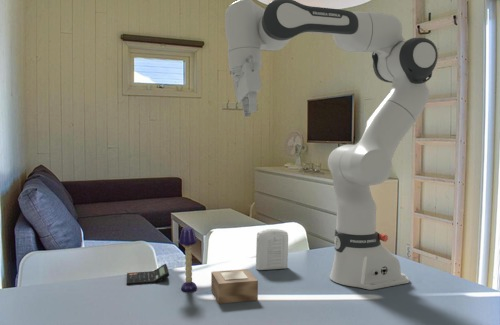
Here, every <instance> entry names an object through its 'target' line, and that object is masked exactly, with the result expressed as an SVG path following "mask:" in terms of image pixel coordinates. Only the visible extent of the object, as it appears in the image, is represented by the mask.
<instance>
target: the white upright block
mask: <svg viewBox="0 0 500 325" xmlns="http://www.w3.org/2000/svg"><path fill="white" fill-rule="evenodd" d="M255 247H256V251H255V252H256V253H255V269H256V270H257V271H265V270H281V269H288V260H289V259H288V257H289V234H288V231H286V230H283V229H280V228H271V229H270V228H269V229H265V230H261V231H259V232H258V231H257V234H256V246H255Z"/></svg>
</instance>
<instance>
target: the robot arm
mask: <svg viewBox="0 0 500 325" xmlns="http://www.w3.org/2000/svg"><path fill="white" fill-rule="evenodd" d="M402 26H403V25H402V22H401V20H399V18H398V17H397V16H394V15H391V14H388V13H382V12H376V11H360V10H357V11H356V10H355V11H353V10H346V9H338V8H330V7H320V6H310V5H306V4H303V3H300V2H299V1H296V0H272V1H271V2H269V3H268V4H267V6H266V7H265V8H263V7H262V6H259V4H256V3H255V2H254V1H253V0H236V1H234V2H232V3H230V4H229V6H228V7H227V8H226V10H225V13H224V27H225V28H224V30H225V38H226V41H227V45H228V46H227V60H228V69H229V70H228V71H229V74H230V77H232V82H233V87H234V93H235V99H236V101H237V103H239V104H241V106H242V111H243V117H244V118H250V117H252V113H257V111H258V104H257V103H258V94H259V92H261V90H262V78H261V71H260V70H261V69H262V68H263V59H262V51H264V52H265V51H266V52H277V51H280V50H282V49H283V48H284V47H286V45H288V44H289V42H290V41H292V39H294V38H295V37H297V36H300V35H301V34H307V33H308V34H321V35H322V34H323V35H330V36H332V39H333V42H334V43H335V45H336V46H337V47H338V48H337V49H339V50H341V51H345V52H349V53H372V54H371V58H372V67H373V72H374V74H375V76H376V78H378V79H379V80H380V81H382V82H385V83H389V84H390V83H392V85H391V88H390V90H389V92H388V94H387V95H386V96H385V97H384V99H383V100H382V101H381V102H380V103H379V104H378V106H377V107H376V108H375V109H374V112H372V113H371V115H370V116H369V117H368V119H367V120H366V122H365V129H364V132H363V134H362V135H361V138H360V140H358V142H357V143H356V144H344V145H340V146H338V147H336V148H334V149H333V150H332V151H331V152H330V153H329V155H328V158H327V167H328V170H329V172H330V174H331V177H332V181H333V183H332V184H333V189H334V193H335V201H336V227H335V230H334V242H333V243H334V246H333V247H334V258H333V263H332V266H331V267H332V268H331V271H330V274H329V279H330V280H331V281H333V282H334V283H337V284H340V285H343V286H348V287H354V288H361V289H366V290H370V291H371V290H377V289H383V288H387V287H392V286H399V285H403V284H408V283H410V279H409V277H408V276H407V275H406V274H405V273H403V272H402V271H401V270H402V269H401V264H400V261H399V259H398V258H397V256H395V255H394V254H393V253H392V252H391V251H390V250H389V249H387V248H386V247H385V246H383V245H382V242H388V240H389V236H388V234H385V233H380V232H378V231H376V229H377V227H376V225H377V204H376V202H375V200H374V198H373V195H372V192H371V188H370V186H376V185H380V184H383V183H384V182H386V181H387V180H388V179H389V178H390V176H391V174H392V171H393V170H392V169H393V163H392V162H393V161H392V160H393V157H394V154H395V153H396V150H397V148H398V146H399V144H400V143H401V141H402V140H403V139H404V137H405V136H406V134H407V133H408V132H409V131H410V129H411V128H412V127H413V125H414V124H416V123H415V122H416V121H417V120H418V118H419V117H420V115H421V114H422V112H423V111H424V109H425V107H426V106H427V103H428V101H429V98H430V89H429V87H428V86H427V85H426V84H425V83H426V82H428V81H430V79H431V78H432V77H433V76H432V75H433V71H434V70H435V68H436V66H437V62H438V57H439V54H438V53H439V52H438V49H437V46H436V44H435V43H434V42H433V41H432V40H430V39H429V38H426V37H411V38H409V39H406V40H405V38H404V37H403V27H402ZM381 241H382V242H381Z"/></svg>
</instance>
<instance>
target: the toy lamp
mask: <svg viewBox="0 0 500 325" xmlns="http://www.w3.org/2000/svg"><path fill="white" fill-rule="evenodd" d="M197 241H198V240H197V237H196V234H195V230H194V228H193V227H191V226H187V227H182V229H181V232H180V236H179V241H178V243H179V245H181V246H184V249H185V250H184V254H185V256H184V260H185V262H184V265H185V267H184V269H185V282H183V284H182V285H181V287H180V290H181V291H182V292H187V293H189V292H194V291H197V290H198V286H197V284H196V283H195V282H194V281H193V267H192V264H193V261H192V258H193V255H192V252H193V251H192V247H193V246H192V245H196V244H197ZM196 289H197V290H196Z"/></svg>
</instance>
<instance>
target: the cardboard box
mask: <svg viewBox="0 0 500 325" xmlns="http://www.w3.org/2000/svg"><path fill="white" fill-rule="evenodd" d="M210 281H211V285H210V286H211V288H210V291H211V292H212V293H213V294H212V295H213V296H214V298H215V300H216V301H217V304H220V305H221V304H231V303H241V302H251V301H252V302H253V301H258V300H259V297H258V296H259V293H258V292H259V289H258V288H259V281H258V279H257V278H256V277H255V276H254V274H252V273H251V271H250V270H249V269H248V268H246V269H245V268H242V269H233V270H232V269H230V270H218V271H217V270H216V271H215V270H214V271H211V280H210Z"/></svg>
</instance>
